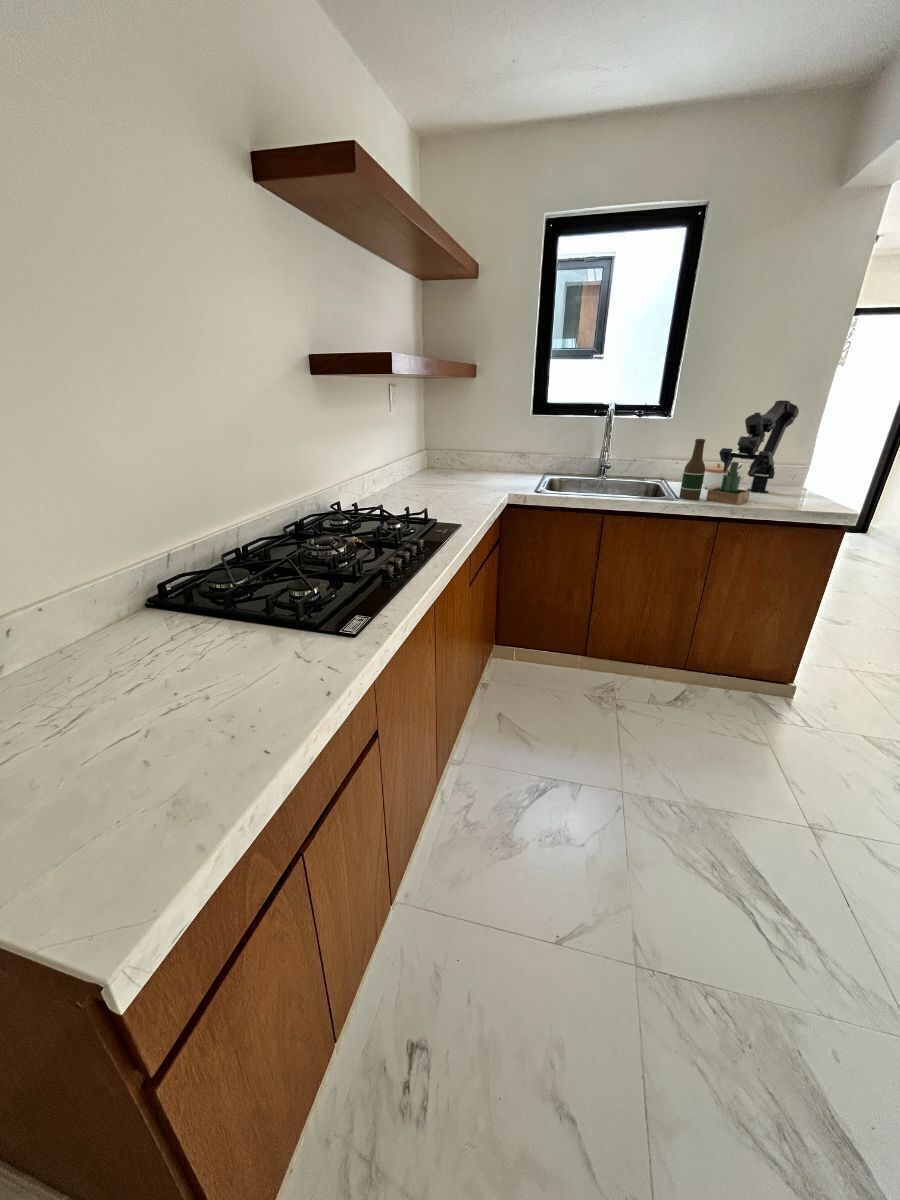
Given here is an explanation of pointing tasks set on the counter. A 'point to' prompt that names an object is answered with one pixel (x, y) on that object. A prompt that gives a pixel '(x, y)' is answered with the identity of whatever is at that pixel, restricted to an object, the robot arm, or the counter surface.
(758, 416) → the robot arm
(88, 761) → the counter surface
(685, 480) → the beer bottle
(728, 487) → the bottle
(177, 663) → the counter surface
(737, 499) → the wooden tray
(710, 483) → the lidded bowl
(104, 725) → the counter surface
